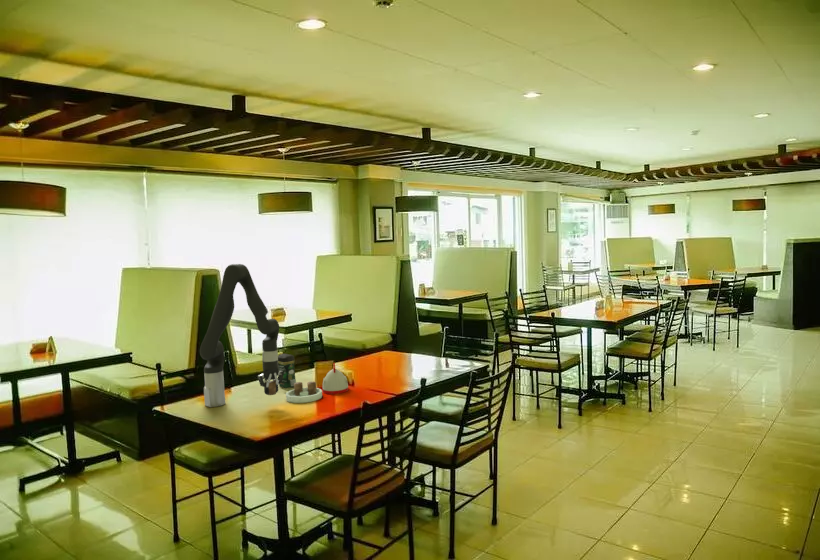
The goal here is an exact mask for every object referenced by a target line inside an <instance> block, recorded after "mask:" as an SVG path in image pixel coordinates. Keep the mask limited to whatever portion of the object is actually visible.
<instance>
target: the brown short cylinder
mask: <svg viewBox="0 0 820 560" xmlns="http://www.w3.org/2000/svg"><path fill="white" fill-rule="evenodd" d="M268 387H269V394H268V395H267V396H275V395H277V393H276V382H275V381H273V380H270V383H269V386H268Z"/></svg>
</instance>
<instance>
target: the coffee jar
mask: <svg viewBox="0 0 820 560" xmlns="http://www.w3.org/2000/svg"><path fill="white" fill-rule="evenodd" d="M278 370H279V371H283V372H284V374H283V379H282V383H279V384H278V387H281V388H285V389H289V388H294V383H296V382H297V381H296V379H297V378H296V371H295V356H294V355H293V354H288V353H280V354H278Z"/></svg>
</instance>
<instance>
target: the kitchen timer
mask: <svg viewBox="0 0 820 560" xmlns="http://www.w3.org/2000/svg"><path fill="white" fill-rule="evenodd" d="M332 366H333V368H332V369H331V370H329V371H328V372H327V373H326V376H324V377H323V380H322V389H321V390H322V394H328V395H337V394H338V393H339V394H342V393H346V392H348V391H349V383H348V379H347V376H345V374H344V373H343V372H342V371H340V370H339V369H337V368H336V363H335V362H333V363H332Z"/></svg>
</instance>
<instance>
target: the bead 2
mask: <svg viewBox="0 0 820 560" xmlns="http://www.w3.org/2000/svg"><path fill="white" fill-rule="evenodd" d="M307 387H308V395H314V394H316V388H317V382H316V381H309V382H307Z"/></svg>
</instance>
